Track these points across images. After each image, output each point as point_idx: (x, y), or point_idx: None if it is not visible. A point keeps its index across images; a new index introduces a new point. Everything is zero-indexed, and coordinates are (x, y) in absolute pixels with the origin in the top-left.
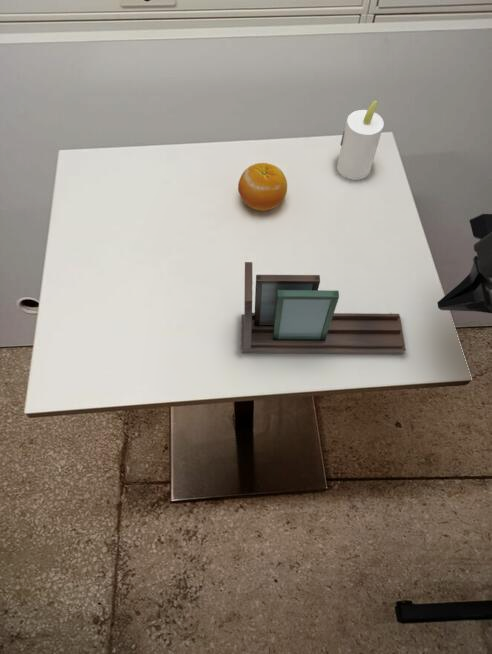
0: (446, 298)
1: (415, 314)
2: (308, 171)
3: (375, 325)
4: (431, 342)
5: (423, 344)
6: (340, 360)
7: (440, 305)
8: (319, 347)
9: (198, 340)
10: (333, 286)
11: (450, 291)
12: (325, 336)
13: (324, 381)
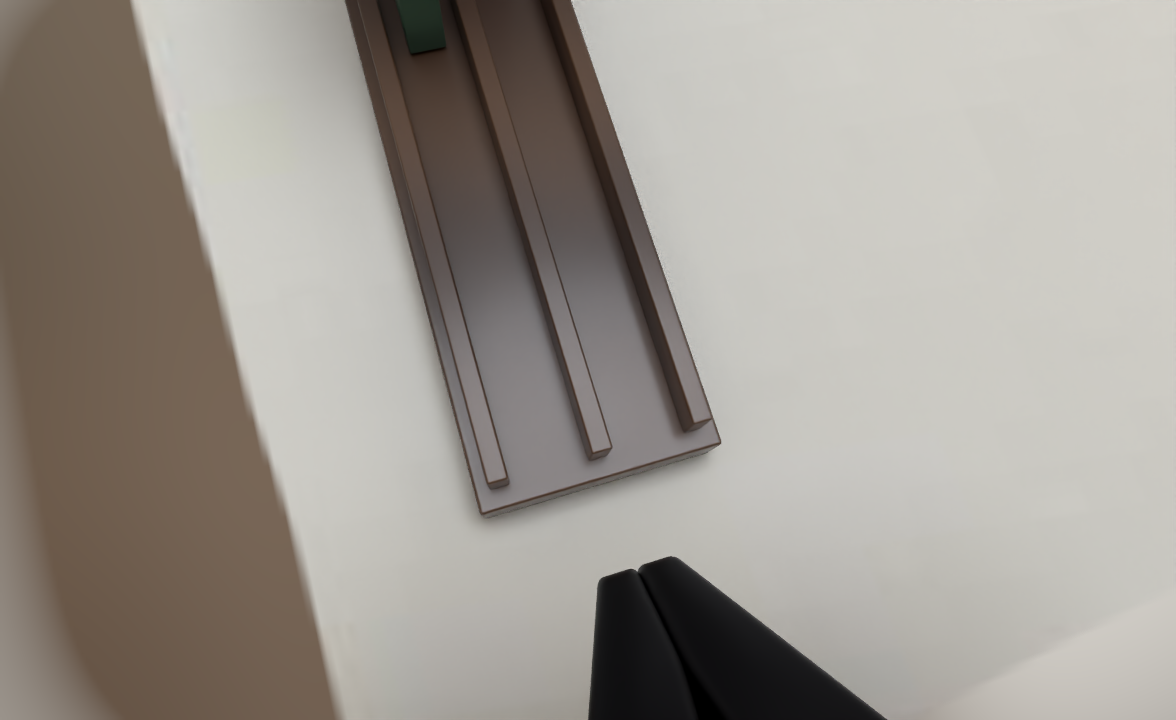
0: (718, 650)
1: (787, 555)
2: None
3: (600, 306)
4: None
5: (589, 639)
6: (352, 186)
7: (620, 595)
8: (365, 37)
9: None
10: (800, 80)
11: (840, 687)
12: (400, 9)
13: (206, 129)
